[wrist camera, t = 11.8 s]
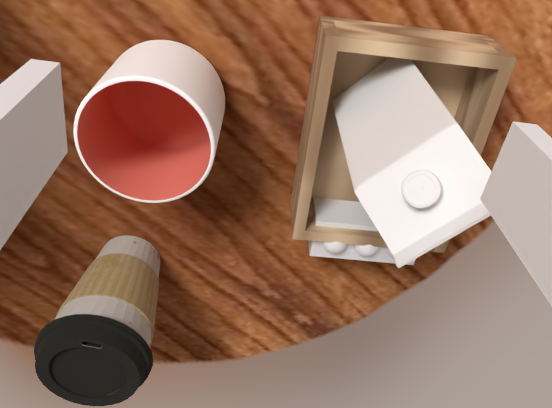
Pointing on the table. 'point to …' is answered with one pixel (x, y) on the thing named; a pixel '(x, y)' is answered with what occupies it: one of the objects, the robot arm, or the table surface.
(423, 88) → the milk carton
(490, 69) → the crate
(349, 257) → the egg box
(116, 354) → the coffee cup
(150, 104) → the cup
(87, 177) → the table surface
